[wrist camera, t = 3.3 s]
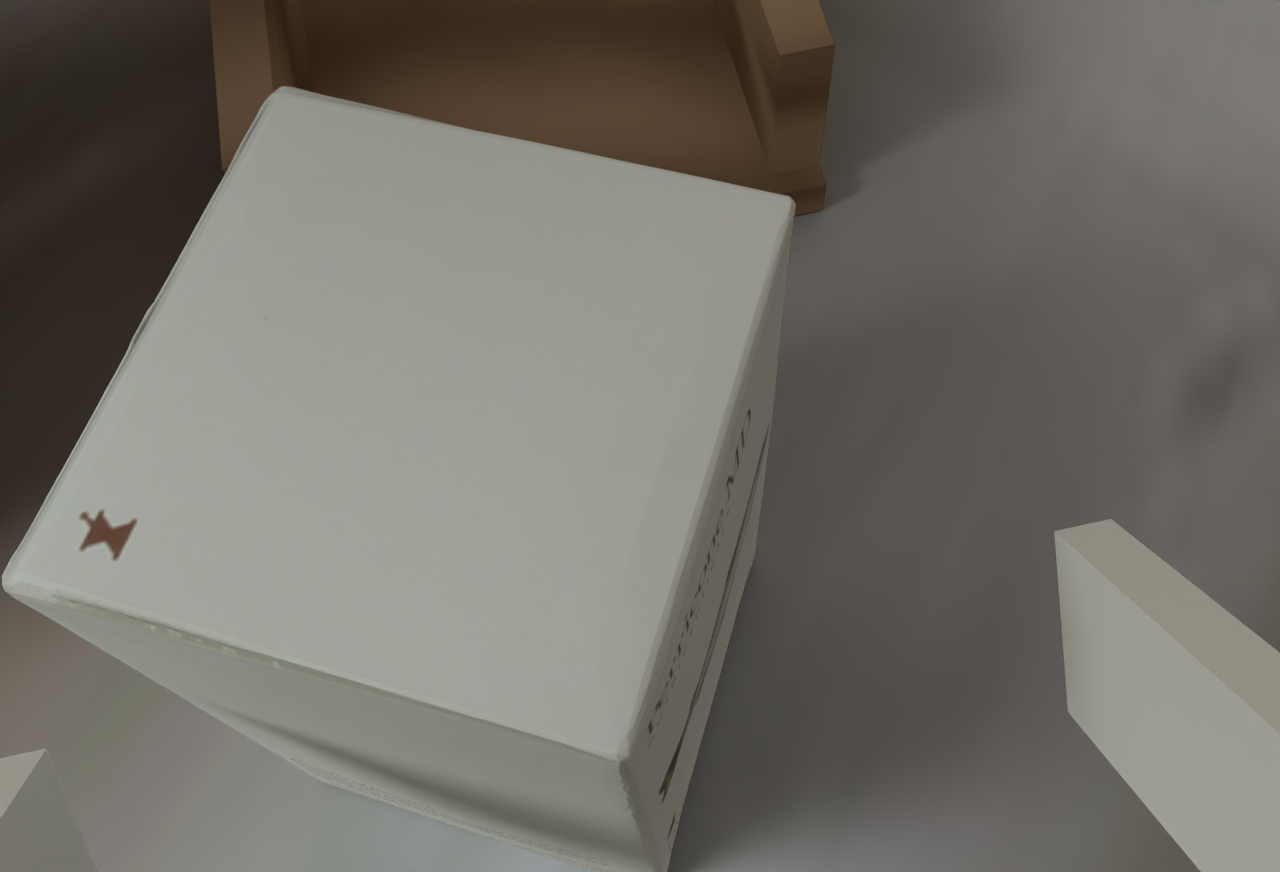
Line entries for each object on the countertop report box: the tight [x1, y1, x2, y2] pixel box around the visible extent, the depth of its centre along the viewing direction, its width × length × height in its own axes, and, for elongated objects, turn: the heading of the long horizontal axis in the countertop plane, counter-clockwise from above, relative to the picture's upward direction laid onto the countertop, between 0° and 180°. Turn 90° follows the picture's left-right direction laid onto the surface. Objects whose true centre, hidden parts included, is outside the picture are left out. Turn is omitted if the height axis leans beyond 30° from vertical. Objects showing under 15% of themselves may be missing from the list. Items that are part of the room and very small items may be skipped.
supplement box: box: [2, 86, 796, 872], centre depth 19 cm, size 7×7×13 cm
